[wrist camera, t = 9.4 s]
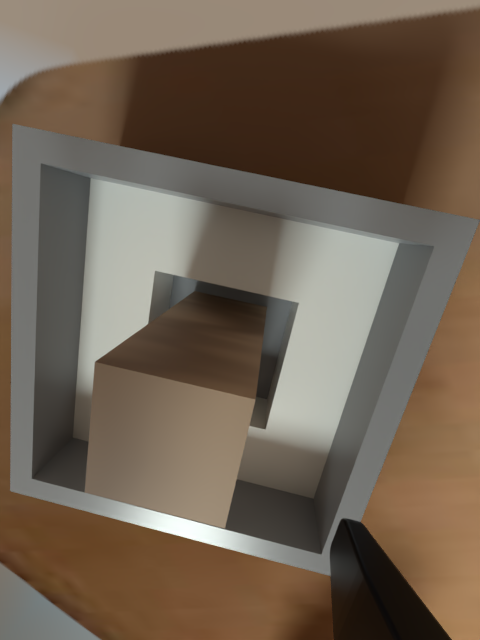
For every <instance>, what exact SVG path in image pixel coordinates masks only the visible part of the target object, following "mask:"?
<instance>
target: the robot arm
mask: <svg viewBox="0 0 480 640" xmlns="http://www.w3.org/2000/svg"><path fill="white" fill-rule="evenodd" d="M330 576H331V595H332V615H333V633H334V640H452V639H451V638H450V637H449V635H448V634H447V633H446V632H445V630H444V629H443V628H442V626H441V625H440V624H439V622H438V621H437V620H436V619H435V617H434V616H433V615H432V613H431V612H430V611H429V609H428V608H427V607H426V605H425V604H424V603H423V602H422V600H421V599H420V598H419V596H418V595H417V594H416V592H415V591H414V590H413V588H412V587H411V586H410V585H409V583H408V582H407V581H406V579H405V578H404V577H403V575H402V574H401V573H400V571H399V570H398V569H397V568H396V566H395V565H394V564H393V562H392V561H391V560H390V558H389V557H388V556H387V555H386V553H385V552H384V551H383V549H382V548H381V547H380V545H379V544H378V543H377V541H376V540H375V539H374V538H373V536H372V535H371V534H370V532H369V531H368V530H367V528H366V527H365V526H364V525H363V524H362V523H361V522H359V521H356V520H352V519H348V518H342V519H341V520H340V522H339V525H338V527H337V530H336V533H335V535H334V538H333V541H332V543H331V547H330Z"/></svg>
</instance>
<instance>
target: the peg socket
mask: <svg viewBox="0 0 480 640" xmlns="http://www.w3.org/2000/svg"><path fill="white" fill-rule="evenodd" d="M479 221H480V220H477V219H473V218H468V217H463V216H458V215H453V214H448V213H443V212H439V211H434V210H429V209H424V208H419V207H414V206H409V205H404V204H400V203H395V202H390V201H385V200H380V199H375V198H370V197H366V196H361V195H356V194H351V193H346V192H341V191H336V190H331V189H327V188H322V187H317V186H312V185H307V184H302V183H297V182H293V181H288V180H283V179H278V178H273V177H268V176H263V175H259V174H254V173H249V172H244V171H239V170H234V169H229V168H224V167H220V166H215V165H210V164H205V163H200V162H195V161H190V160H186V159H181V158H176V157H171V156H166V155H161V154H156V153H151V152H147V151H142V150H137V149H132V148H127V147H122V146H117V145H113V144H108V143H103V142H98V141H93V140H88V139H83V138H78V137H74V136H69V135H64V134H59V133H54V132H49V131H44V130H40V129H35V128H30V127H25V126H20V125H15V124H13V133H12V302H11V472H10V491H12V492H16V493H19V494H23V495H27V496H31V497H35V498H38V499H42V500H46V501H50V502H53V503H57V504H61V505H65V506H68V507H72V508H76V509H80V510H84V511H87V512H91V513H95V514H99V515H102V516H106V517H110V518H114V519H118V520H121V521H125V522H129V523H133V524H136V525H140V526H144V527H148V528H151V529H155V530H159V531H163V532H167V533H170V534H174V535H178V536H182V537H185V538H189V539H193V540H197V541H200V542H204V543H208V544H212V545H216V546H219V547H223V548H227V549H231V550H234V551H238V552H242V553H246V554H250V555H253V556H257V557H261V558H265V559H268V560H272V561H276V562H280V563H283V564H287V565H291V566H295V567H299V568H302V569H306V570H310V571H314V572H317V573H321V574H325V575H329V576H330V547H331V543H332V541H333V538H334V535H335V533H336V530H337V527H338V525H339V522H340V520H341V519H342V518H348V519H352V520H356V521H359V522H360V521H361V519H362V516H363V514H364V511H365V509H366V506H367V504H368V501H369V499H370V496H371V494H372V491H373V488H374V486H375V483H376V481H377V478H378V476H379V473H380V471H381V468H382V466H383V463H384V461H385V458H386V456H387V453H388V451H389V448H390V446H391V443H392V441H393V438H394V436H395V433H396V430H397V428H398V425H399V423H400V420H401V418H402V415H403V413H404V410H405V408H406V405H407V403H408V400H409V398H410V395H411V393H412V390H413V388H414V385H415V383H416V380H417V378H418V375H419V372H420V370H421V367H422V365H423V362H424V360H425V357H426V355H427V352H428V350H429V347H430V345H431V342H432V340H433V337H434V335H435V332H436V330H437V327H438V325H439V322H440V320H441V317H442V314H443V312H444V309H445V307H446V304H447V302H448V299H449V297H450V294H451V292H452V289H453V287H454V284H455V282H456V279H457V277H458V274H459V272H460V269H461V267H462V264H463V262H464V259H465V256H466V254H467V251H468V249H469V246H470V244H471V241H472V239H473V236H474V234H475V231H476V229H477V226H478V224H479ZM194 291H197V292H201V293H206V294H210V295H215V296H220V297H224V298H229V299H233V300H238V301H242V302H247V303H251V304H256V305H261V306H265V307H267V311H266V319H265V327H264V335H263V344H262V352H261V360H260V368H259V376H258V384H257V392H256V400H255V404H254V408H253V413H252V417H251V421H250V425H249V429H248V434H247V438H246V442H245V446H244V450H243V455H242V459H241V463H240V467H239V471H238V476H237V480H236V484H235V488H234V492H233V497H232V501H231V505H230V509H229V513H228V517H227V522H226V526H225V528H221V527H217V526H213V525H209V524H205V523H201V522H198V521H194V520H190V519H186V518H182V517H178V516H174V515H170V514H166V513H162V512H159V511H155V510H151V509H147V508H143V507H139V506H135V505H131V504H127V503H123V502H120V501H116V500H112V499H108V498H104V497H100V496H96V495H92V494H88V493H85V481H86V468H87V455H88V443H89V430H90V417H91V404H92V391H93V379H94V366H95V361H97V360H98V359H100V358H101V357H102V356H104V355H105V354H107V353H108V352H109V351H111V350H112V349H114V348H115V347H117V346H118V345H119V344H121V343H122V342H124V341H125V340H126V339H128V338H129V337H131V336H132V335H133V334H135V333H136V332H138V331H139V330H140V329H142V328H143V327H145V326H146V325H148V324H149V323H150V322H152V321H153V320H155V319H156V318H157V317H159V316H160V315H162V314H163V313H164V312H166V311H167V310H169V309H170V308H171V307H173V306H174V305H176V304H177V303H179V302H180V301H181V300H183V299H184V298H186V297H187V296H188V295H190V294H191V293H193V292H194Z"/></svg>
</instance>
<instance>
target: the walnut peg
mask: <svg viewBox="0 0 480 640" xmlns="http://www.w3.org/2000/svg"><path fill="white" fill-rule="evenodd" d="M266 311H267V307H265V306H261V305H256V304H251V303H247V302H242V301H238V300H233V299H229V298H224V297H220V296H215V295H210V294H206V293H201V292H197V291H194V292H193V293H191V294H190V295H188V296H187V297H186V298H184V299H183V300H181V301H180V302H179V303H177V304H176V305H174V306H173V307H171V308H170V309H169V310H167V311H166V312H164V313H163V314H162V315H160V316H159V317H157V318H156V319H155V320H153V321H152V322H150V323H149V324H148V325H146V326H145V327H143V328H142V329H140V330H139V331H138V332H136V333H135V334H133V335H132V336H131V337H129V338H128V339H126V340H125V341H124V342H122V343H121V344H119V345H118V346H117V347H115V348H114V349H112V350H111V351H109V352H108V353H107V354H105V355H104V356H102V357H101V358H100V359H98V360H97V361H95V366H94V379H93V391H92V404H91V417H90V430H89V443H88V455H87V468H86V481H85V493H88V494H92V495H96V496H100V497H104V498H108V499H112V500H116V501H120V502H123V503H127V504H131V505H135V506H139V507H143V508H147V509H151V510H155V511H159V512H162V513H166V514H170V515H174V516H178V517H182V518H186V519H190V520H194V521H198V522H201V523H205V524H209V525H213V526H217V527H221V528H225V526H226V522H227V517H228V513H229V509H230V505H231V501H232V497H233V492H234V488H235V484H236V480H237V476H238V471H239V467H240V463H241V459H242V455H243V450H244V446H245V442H246V438H247V434H248V429H249V425H250V421H251V417H252V413H253V408H254V404H255V400H256V392H257V384H258V376H259V368H260V360H261V352H262V344H263V335H264V327H265V319H266Z"/></svg>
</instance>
